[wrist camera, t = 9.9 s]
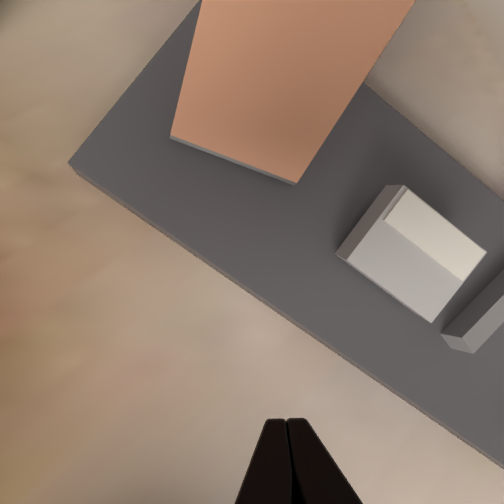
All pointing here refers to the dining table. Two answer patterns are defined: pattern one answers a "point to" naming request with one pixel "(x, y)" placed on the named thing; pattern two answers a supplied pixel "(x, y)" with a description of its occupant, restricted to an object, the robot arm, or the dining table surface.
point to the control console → (322, 238)
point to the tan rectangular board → (277, 76)
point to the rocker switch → (411, 251)
